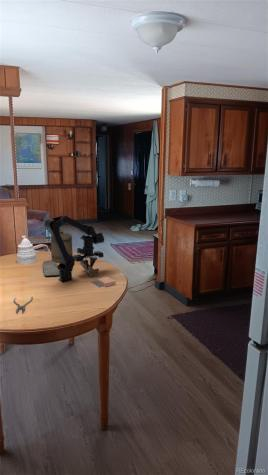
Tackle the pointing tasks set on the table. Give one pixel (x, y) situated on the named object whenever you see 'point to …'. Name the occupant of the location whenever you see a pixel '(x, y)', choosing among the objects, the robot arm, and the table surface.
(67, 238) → the wooden container
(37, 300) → the table surface
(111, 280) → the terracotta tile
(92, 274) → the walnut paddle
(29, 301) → the pliers
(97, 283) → the charcoal mat
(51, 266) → the stone slab
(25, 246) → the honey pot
